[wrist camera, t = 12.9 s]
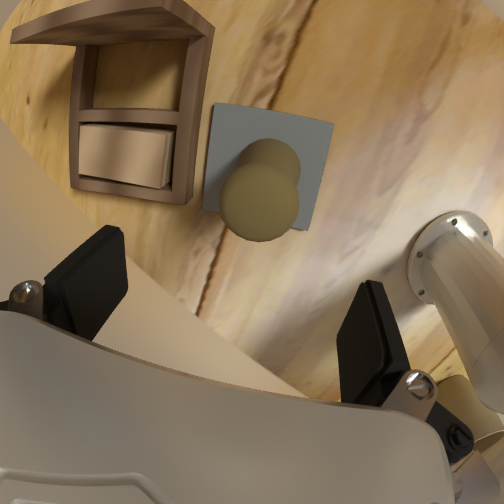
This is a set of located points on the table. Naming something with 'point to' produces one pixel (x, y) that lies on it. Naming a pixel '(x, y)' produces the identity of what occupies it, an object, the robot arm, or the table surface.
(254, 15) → the table surface
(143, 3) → the open walnut box
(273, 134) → the slate mat
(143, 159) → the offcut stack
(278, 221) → the olive pawn
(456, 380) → the plant pot
